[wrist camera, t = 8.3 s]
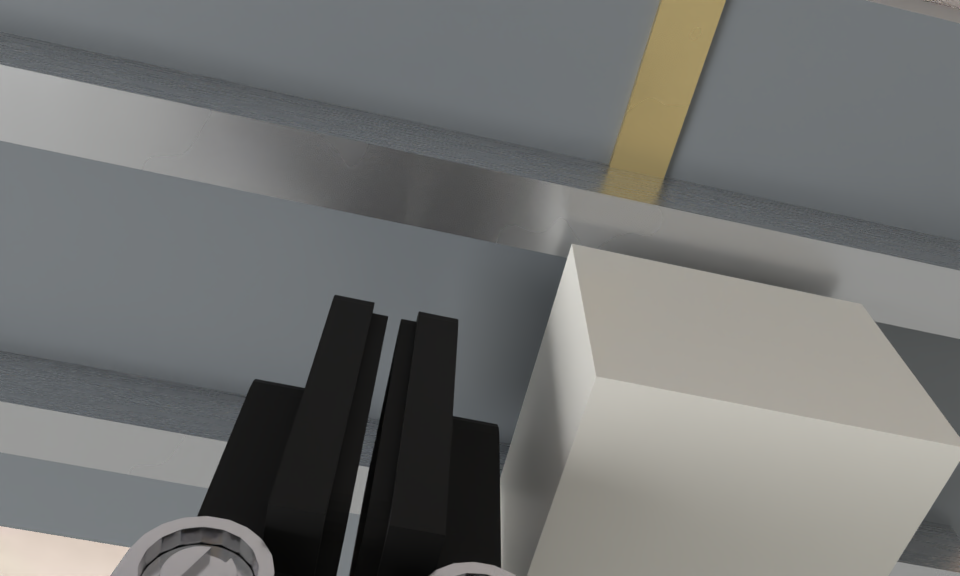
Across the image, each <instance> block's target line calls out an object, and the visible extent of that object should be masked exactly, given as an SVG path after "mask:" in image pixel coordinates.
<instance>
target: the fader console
mask: <svg viewBox="0 0 960 576" xmlns="http://www.w3.org/2000/svg"><path fill="white" fill-rule="evenodd" d="M571 244H576V245H581V246H586V247H590V248H595V249H600V250H605V251H609V252H614V253H619V254H624V255H629V256H633V257H638V258H643V259H648V260H653V261H657V262H662V263H667V264H672V265H677V266H681V267H686V268H691V269H696V270H701V271H705V272H710V273H715V274H720V275H725V276H729V277H734V278H739V279H744V280H749V281H753V282H758V283H763V284H768V285H773V286H777V287H782V288H787V289H792V290H797V291H801V292H806V293H811V294H816V295H821V296H825V297H830V298H835V299H840V300H845V301H849V302H854V303H859V304H862V305H863V307H864V308H865V309H866V311H867V312H868V313H869V315H870V316H871V317H872V319H873V320H874V322H875V323H876V324H877V326H878V327H879V328H880V330H881V331H882V332H883V334H884V335H885V336H886V338H887V339H888V341H889V342H890V343H891V345H892V346H893V347H894V349H895V350H896V351H897V353H898V354H899V356H900V357H901V358H902V360H903V361H904V362H905V364H906V365H907V366H908V368H909V369H910V370H911V372H912V373H913V375H914V376H915V377H916V379H917V380H918V381H919V383H920V384H921V385H922V387H923V388H924V389H925V391H926V392H927V394H928V395H929V396H930V398H931V399H932V400H933V402H934V403H935V404H936V406H937V407H938V409H939V410H940V411H941V413H942V414H943V415H944V417H945V418H946V419H947V421H948V422H949V423H950V425H951V426H952V428H953V429H954V430H955V432H956V433H957V434H958V436H959V437H960V9H958V8H954V7H950V6H946V5H941V4H937V3H933V2H929V1H925V0H0V526H4V527H10V528H16V529H22V530H28V531H34V532H40V533H46V534H52V535H58V536H64V537H70V538H76V539H82V540H88V541H94V542H101V543H107V544H113V545H119V546H125V547H132V546H133V545H134V544H135V543H136V542H137V541H138V540H139V539H140V538H141V537H142V536H143V535H144V534H145V533H147V532H149V531H151V530H153V529H154V528H156V527H158V526H160V525H161V524H163V523H167V522H170V521H174V520H177V519H181V518H184V517H197V515H198V513H199V510H200V508H201V505H202V503H203V501H204V498H205V496H206V493H207V491H208V488H209V486H210V483H211V481H212V479H213V476H214V474H215V471H216V469H217V466H218V464H219V461H220V459H221V457H222V454H223V452H224V449H225V447H226V444H227V442H228V440H229V437H230V435H231V432H232V430H233V427H234V425H235V422H236V420H237V418H238V415H239V413H240V410H241V408H242V405H243V403H244V400H245V398H246V396H247V393H248V391H249V388H250V386H251V384H252V382H253V381H254V380H255V379H259V380H265V381H270V382H275V383H281V384H286V385H291V386H296V387H302V388H305V386H306V383H307V379H308V376H309V373H310V370H311V367H312V364H313V360H314V357H315V354H316V351H317V348H318V345H319V341H320V338H321V335H322V332H323V329H324V326H325V322H326V319H327V316H328V313H329V310H330V307H331V303H332V300H333V297H334V295H339V296H345V297H350V298H355V299H360V300H365V301H370V302H375V304H374V310H373V313H375V314H380V315H385V316H388V321H387V326H386V331H385V336H384V341H383V346H382V351H381V356H380V361H379V366H378V371H377V376H376V381H375V386H374V391H373V396H372V401H371V406H370V411H369V417H368V422H367V427H366V432H365V437H364V442H363V447H362V452H361V457H360V462H359V467H358V472H357V477H356V482H355V487H354V492H353V497H352V502H351V507H350V512H349V517H348V522H347V527H346V532H345V537H344V542H343V547H342V552H341V556H340V561H339V566H338V571H337V576H349V573H350V567H351V562H352V557H353V551H354V546H355V540H356V535H357V529H358V524H359V518H360V513H361V507H362V502H363V496H364V491H365V486H366V481H367V476H368V471H369V466H370V462H371V457H372V452H373V448H374V443H375V438H376V434H377V429H378V424H379V419H380V415H381V410H382V405H383V401H384V396H385V391H386V386H387V382H388V377H389V372H390V368H391V363H392V358H393V354H394V349H395V344H396V339H397V335H398V330H399V325H400V321H401V319H405V320H410V321H415V322H416V320H417V316H418V312H419V311H420V312H425V313H430V314H435V315H440V316H445V317H450V318H455V319H458V339H457V356H456V372H455V388H454V405H453V416H456V417H461V418H467V419H472V420H477V421H483V422H488V423H493V424H497V425H498V427H499V439H500V477H501V473H502V470H503V467H504V464H505V460H506V457H507V454H508V451H509V447H510V444H511V441H512V437H513V434H514V431H515V428H516V424H517V421H518V418H519V415H520V411H521V408H522V405H523V401H524V398H525V395H526V392H527V388H528V385H529V382H530V379H531V375H532V372H533V369H534V365H535V362H536V359H537V356H538V352H539V349H540V346H541V343H542V339H543V336H544V333H545V330H546V326H547V323H548V320H549V316H550V313H551V310H552V307H553V303H554V300H555V297H556V294H557V290H558V287H559V284H560V280H561V277H562V274H563V271H564V267H565V264H566V261H567V258H568V254H569V251H570V248H571ZM889 576H960V462H959V463H958V465H957V466H956V468H955V470H954V471H953V473H952V474H951V476H950V478H949V479H948V481H947V483H946V484H945V486H944V487H943V489H942V491H941V492H940V494H939V495H938V497H937V499H936V500H935V502H934V503H933V505H932V507H931V508H930V510H929V511H928V513H927V515H926V516H925V518H924V519H923V521H922V523H921V524H920V526H919V527H918V529H917V531H916V532H915V534H914V535H913V537H912V539H911V540H910V542H909V543H908V545H907V547H906V548H905V550H904V552H903V553H902V555H901V556H900V558H899V560H898V561H897V563H896V564H895V566H894V568H893V569H892V571H891V572H890V574H889Z"/></svg>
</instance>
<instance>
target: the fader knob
mask: <svg viewBox="0 0 960 576" xmlns="http://www.w3.org/2000/svg"><path fill="white" fill-rule="evenodd" d="M959 462H960V437H959V436H958V434H957V433H956V432H955V430H954V429H953V428H952V426H951V425H950V423H949V422H948V421H947V419H946V418H945V417H944V415H943V414H942V413H941V411H940V410H939V409H938V407H937V406H936V404H935V403H934V402H933V400H932V399H931V398H930V396H929V395H928V394H927V392H926V391H925V389H924V388H923V387H922V385H921V384H920V383H919V381H918V380H917V379H916V377H915V376H914V375H913V373H912V372H911V370H910V369H909V368H908V366H907V365H906V364H905V362H904V361H903V360H902V358H901V357H900V356H899V354H898V353H897V351H896V350H895V349H894V347H893V346H892V345H891V343H890V342H889V341H888V339H887V338H886V336H885V335H884V334H883V332H882V331H881V330H880V328H879V327H878V326H877V324H876V323H875V322H874V320H873V319H872V317H871V316H870V315H869V313H868V312H867V311H866V309H865V308H864V307H863V305H862V304H859V303H854V302H849V301H845V300H840V299H835V298H830V297H825V296H821V295H816V294H811V293H806V292H801V291H797V290H792V289H787V288H782V287H777V286H773V285H768V284H763V283H758V282H753V281H749V280H744V279H739V278H734V277H729V276H725V275H720V274H715V273H710V272H705V271H701V270H696V269H691V268H686V267H681V266H677V265H672V264H667V263H662V262H657V261H653V260H648V259H643V258H638V257H633V256H629V255H624V254H619V253H614V252H609V251H605V250H600V249H595V248H590V247H586V246H581V245H576V244H571V248H570V251H569V254H568V258H567V261H566V264H565V267H564V271H563V274H562V277H561V280H560V284H559V287H558V290H557V294H556V297H555V300H554V303H553V307H552V310H551V313H550V316H549V320H548V323H547V326H546V330H545V333H544V336H543V339H542V343H541V346H540V349H539V352H538V356H537V359H536V362H535V365H534V369H533V372H532V375H531V379H530V382H529V385H528V388H527V392H526V395H525V398H524V401H523V405H522V408H521V411H520V415H519V418H518V421H517V424H516V428H515V431H514V434H513V437H512V441H511V444H510V447H509V451H508V454H507V457H506V460H505V464H504V467H503V470H502V473H501V477H500V511H501V569H504V570H506V571H508V572H511V573H513V574H515V575H516V576H889V574H890V572H891V571H892V569H893V568H894V566H895V564H896V563H897V561H898V560H899V558H900V556H901V555H902V553H903V552H904V550H905V548H906V547H907V545H908V543H909V542H910V540H911V539H912V537H913V535H914V534H915V532H916V531H917V529H918V527H919V526H920V524H921V523H922V521H923V519H924V518H925V516H926V515H927V513H928V511H929V510H930V508H931V507H932V505H933V503H934V502H935V500H936V499H937V497H938V495H939V494H940V492H941V491H942V489H943V487H944V486H945V484H946V483H947V481H948V479H949V478H950V476H951V474H952V473H953V471H954V470H955V468H956V466H957V465H958V463H959Z"/></svg>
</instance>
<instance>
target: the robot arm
mask: <svg viewBox="0 0 960 576" xmlns="http://www.w3.org/2000/svg"><path fill="white" fill-rule="evenodd" d="M374 304H375V302H370V301H365V300H360V299H355V298H350V297H345V296H339V295H334V297H333V300H332V303H331V307H330V310H329V313H328V316H327V319H326V322H325V326H324V329H323V332H322V335H321V338H320V341H319V345H318V348H317V351H316V354H315V357H314V360H313V364H312V367H311V370H310V373H309V376H308V379H307V383H306V386H305V388H302V387H296V386H291V385H286V384H281V383H275V382H270V381H265V380H259V379H255V380H254V381H253V382H252V384H251V386H250V388H249V391H248V393H247V396H246V398H245V400H244V403H243V405H242V408H241V410H240V413H239V415H238V418H237V420H236V422H235V425H234V427H233V430H232V432H231V435H230V437H229V440H228V442H227V444H226V447H225V449H224V452H223V454H222V457H221V459H220V461H219V464H218V466H217V469H216V471H215V474H214V476H213V479H212V481H211V483H210V486H209V488H208V491H207V493H206V496H205V498H204V501H203V503H202V505H201V508H200V510H199V513H198V515H197V517H184V518H181V519H177V520H174V521H170V522H167V523H163V524H161V525H160V526H158V527H156V528H154V529H153V530H151V531H149V532H147V533H145V534H144V535H143V536H142V537H141V538H140V539H139V540H138V541H137V542H136V543H135V544H134V545H133V546H132V547H131V548H130V549H129V550H128V551H127V553H126V554H125V556H124V557H123V559H122V560H121V561H120V563H119V564H118V566H117V567H116V568H115V570H114V571H113V573H112V574H111V575H110V576H337V571H338V566H339V561H340V556H341V552H342V547H343V542H344V537H345V532H346V527H347V522H348V517H349V512H350V507H351V502H352V497H353V492H354V487H355V482H356V477H357V472H358V467H359V462H360V457H361V452H362V447H363V442H364V437H365V432H366V427H367V422H368V417H369V411H370V406H371V401H372V396H373V391H374V386H375V381H376V376H377V371H378V366H379V361H380V356H381V351H382V346H383V341H384V336H385V331H386V326H387V321H388V316H385V315H380V314H375V313H373V310H374ZM457 339H458V319H455V318H450V317H445V316H440V315H435V314H430V313H425V312H420V311H419V312H418V316H417V320H416V322H415V321H410V320H405V319H401V321H400V325H399V330H398V335H397V339H396V344H395V349H394V354H393V358H392V363H391V368H390V372H389V377H388V382H387V386H386V391H385V396H384V401H383V405H382V410H381V415H380V419H379V424H378V429H377V434H376V438H375V443H374V448H373V452H372V457H371V462H370V466H369V471H368V476H367V481H366V486H365V491H364V496H363V502H362V507H361V513H360V518H359V524H358V529H357V535H356V540H355V546H354V551H353V557H352V562H351V567H350V573H349V576H516V575H515V574H513V573H511V572H508V571H506V570H504V569H501V511H500V439H499V427H498V425H497V424H493V423H488V422H483V421H477V420H472V419H467V418H461V417H456V416H453V405H454V388H455V372H456V356H457Z"/></svg>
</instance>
